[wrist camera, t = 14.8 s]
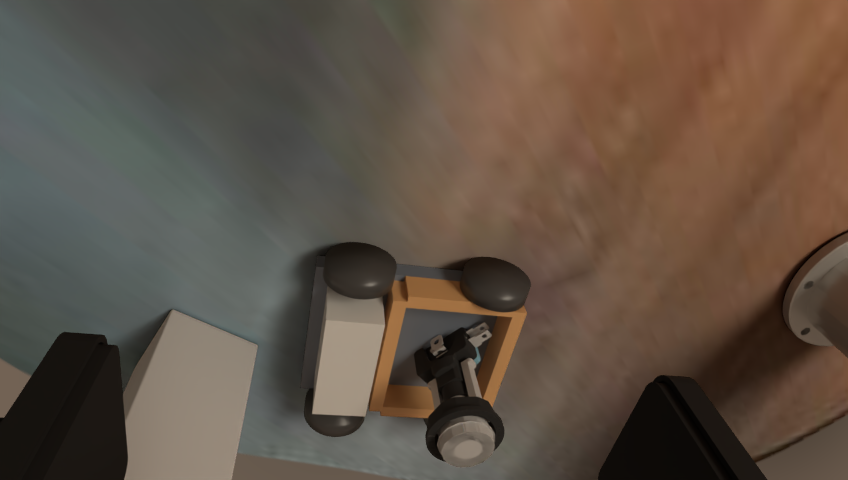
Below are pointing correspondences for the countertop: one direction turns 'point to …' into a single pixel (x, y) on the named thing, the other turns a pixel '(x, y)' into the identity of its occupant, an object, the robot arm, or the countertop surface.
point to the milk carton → (187, 402)
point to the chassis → (399, 331)
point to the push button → (458, 399)
